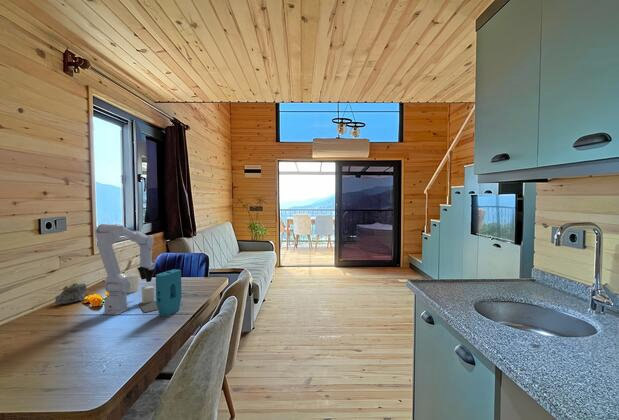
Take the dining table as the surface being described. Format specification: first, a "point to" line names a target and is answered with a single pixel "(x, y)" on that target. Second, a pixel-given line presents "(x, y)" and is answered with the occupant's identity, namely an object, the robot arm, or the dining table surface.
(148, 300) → the block
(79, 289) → the mineral rock
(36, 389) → the dining table surface
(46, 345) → the dining table surface
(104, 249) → the robot arm
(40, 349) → the dining table surface
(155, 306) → the mat
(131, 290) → the white cup
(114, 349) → the dining table surface
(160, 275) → the block
